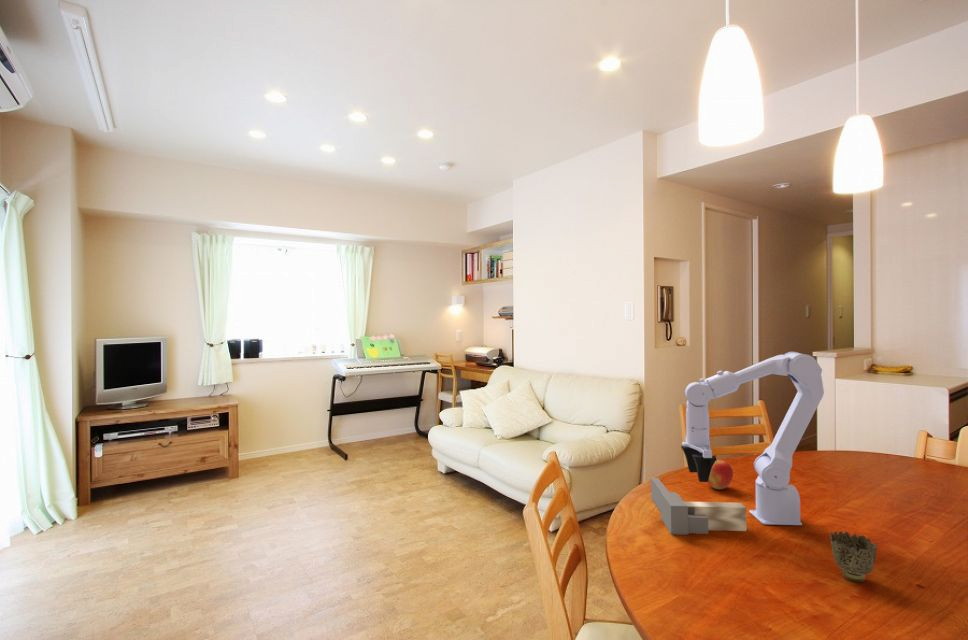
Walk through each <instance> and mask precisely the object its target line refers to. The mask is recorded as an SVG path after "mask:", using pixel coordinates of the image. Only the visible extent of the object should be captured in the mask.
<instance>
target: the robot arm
mask: <svg viewBox="0 0 968 640" xmlns="http://www.w3.org/2000/svg"><path fill="white" fill-rule="evenodd" d="M822 372H823V369H822V367H821V366H820V364H819V363H818V361H817V360H816V358H815V357H813V356H811V355H809V354H806V353H805V354H804V353H800V352H797V351H788V352H786V353H784V354H778V355H775V356H773V357H769V358H767V359H764V360H762V361H760V362H757V363H755V364H753V365H749V366H748V367H746V368H743V369H741V370H738V371H735V372H731V371H729V370H725V371H723V370H718V371H716V374H715V375H712V376H709V377H707V378H702V377H701V378H699V382H697V381H694V382H690V383H689V384H688V385H687V386H685V387H686V388H685V389H684V395H685V396H684V397H685V398H686V399H687V400H686V409H685V425H686V426H685V428H686V431H685V433H686V435H685V438H684V439H685V441H681V446H680V448H681V451H683V455H684V457H685V459H686V464H687V465H686V466H687V468H688V472H689V473H697V480H698V481H699V482H700V483H707V482H708V480H709V476H710V472H711V469H712V466H713V464H714V463H715V461H716V460H717V456H716V457H715V456H714V455H713V450H712V449H711V443H710V411H709V403H710V401H711V400H716V399H718V398H721V397H725V396H726V395H729V394H732V393H734V392H737V391H738V389H739V387H740V386H741V384H747V383H748V382H751V381H754V380H758V379H761V378H763V377H766V376H767V377H768V376H769V375H778V376H784V377H785V376H787V377H788V378H789V379H790V380H791V381H792V383H793V385H794V387H795V389H796V390H797V391H796V394H795V397H794V398H793V400H792V402H791V404H790V406H789V408H788V410H787V411H786V414H785V416H784V418H783V420H782V422H781V424H780V426H779V428H778V430H777V432H776V434H775V436H774V438H773V440H772V442H771V444H770V445H769V446H767V447H766V448H765V449H764V451H763V453H761V454H760V455H759V456H757V457H756V458H755V460H754V462H753V467H754V470H755V472H756V473H757V474H758V475H757V478H756V479H755V509H749V510H748V511H749V513H750V514H751V515H752V516H753V517H754V518H756V519H757V521H759V522H760V523H761V524H762V525H771V526H773V525H774V526H775V525H776V526H778V525H779V526H803V523H802V522H801V497H800V493H799V491H798V489H797V488H796V487H795V486H794V485H792V484H789V483H790V480H791V477H790V476H791V475H790V472H791V469H792V467H793V455H794V454H795V451H796V450H797V447H798V445H799V444H800V441H801V440H802V438H803V435H804V434H805V432H806V429H807V428H808V426H809V424H810V422H811V420H812V418H813V416H814V414H815V412H816V410H817V409H818V406H819V404H820V403H821V401H822V398H823V397H824V393H825V390H824V389H825V388H824V383H823V378H822V377H823V376H822Z"/></svg>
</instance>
